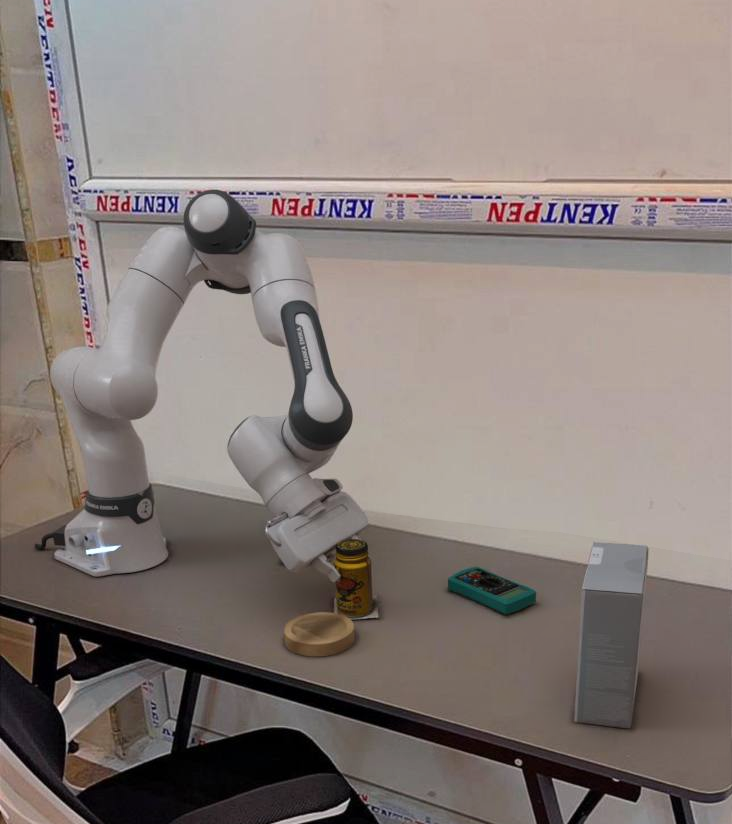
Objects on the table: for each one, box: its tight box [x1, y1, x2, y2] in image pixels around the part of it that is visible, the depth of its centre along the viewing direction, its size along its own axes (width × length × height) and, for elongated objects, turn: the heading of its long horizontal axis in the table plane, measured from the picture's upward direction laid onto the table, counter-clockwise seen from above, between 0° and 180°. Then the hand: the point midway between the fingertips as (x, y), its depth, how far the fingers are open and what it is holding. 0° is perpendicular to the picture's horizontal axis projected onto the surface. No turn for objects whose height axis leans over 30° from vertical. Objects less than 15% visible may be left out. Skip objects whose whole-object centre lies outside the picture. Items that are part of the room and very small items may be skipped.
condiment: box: [333, 538, 379, 620], centre depth 159 cm, size 7×8×12 cm
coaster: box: [283, 611, 356, 658], centre depth 152 cm, size 11×11×2 cm
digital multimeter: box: [447, 566, 537, 616], centre depth 164 cm, size 7×15×3 cm, turn 39°
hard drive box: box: [574, 541, 650, 729], centre depth 130 cm, size 16×8×20 cm, turn 163°
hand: (351, 570), depth 158 cm, fingers closed on condiment, 6 cm apart
